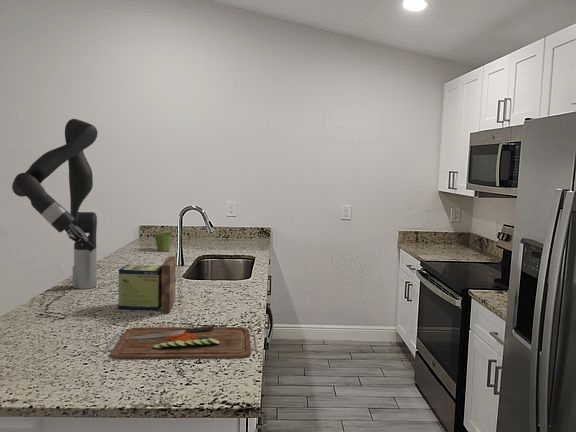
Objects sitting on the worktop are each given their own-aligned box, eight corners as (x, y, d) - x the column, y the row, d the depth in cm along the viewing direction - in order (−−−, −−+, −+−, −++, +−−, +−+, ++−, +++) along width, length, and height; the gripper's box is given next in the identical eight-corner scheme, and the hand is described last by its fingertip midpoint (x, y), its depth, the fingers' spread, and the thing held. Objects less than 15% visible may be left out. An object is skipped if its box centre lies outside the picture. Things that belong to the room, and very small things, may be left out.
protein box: (158, 311, 196) (159, 270, 195) (117, 309, 196) (117, 269, 195) (165, 303, 207) (165, 265, 205) (126, 302, 206) (126, 264, 205)
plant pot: (152, 249, 335) (152, 232, 334) (170, 249, 340) (170, 232, 339) (155, 252, 325) (155, 235, 324) (174, 252, 330) (174, 234, 329)
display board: (161, 313, 193) (161, 265, 191) (167, 299, 213) (168, 256, 211) (169, 313, 193) (170, 265, 192) (175, 299, 213) (175, 256, 211)
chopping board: (99, 360, 146) (99, 350, 146) (120, 331, 173) (120, 322, 172) (259, 359, 151) (259, 349, 150) (255, 330, 177) (255, 322, 177)
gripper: (61, 211, 186) (97, 245, 190) (69, 208, 199) (103, 240, 203) (45, 226, 186) (82, 260, 189) (55, 221, 199) (89, 253, 202)
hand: (93, 249), depth 196 cm, fingers closed
